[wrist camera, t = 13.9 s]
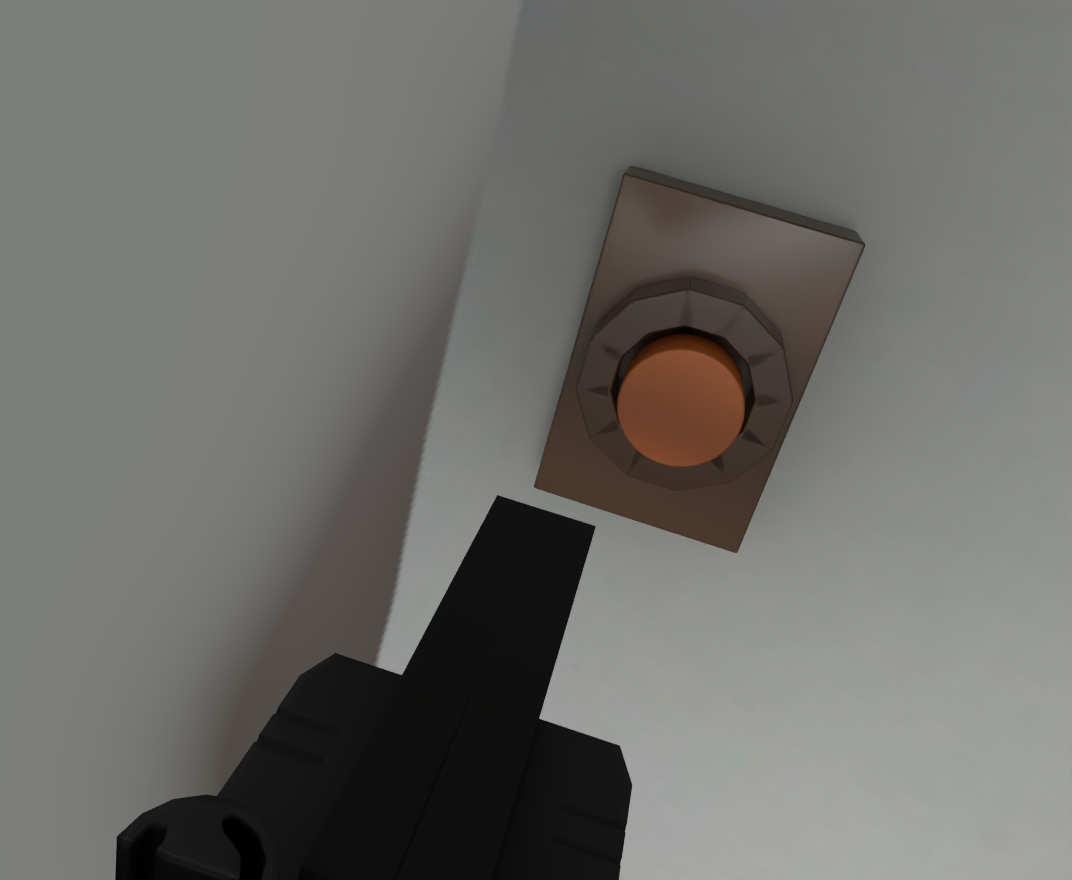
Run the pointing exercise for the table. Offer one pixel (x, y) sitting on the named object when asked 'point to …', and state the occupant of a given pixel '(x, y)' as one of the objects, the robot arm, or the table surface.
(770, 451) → the button block
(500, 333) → the table surface
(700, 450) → the button
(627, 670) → the table surface
